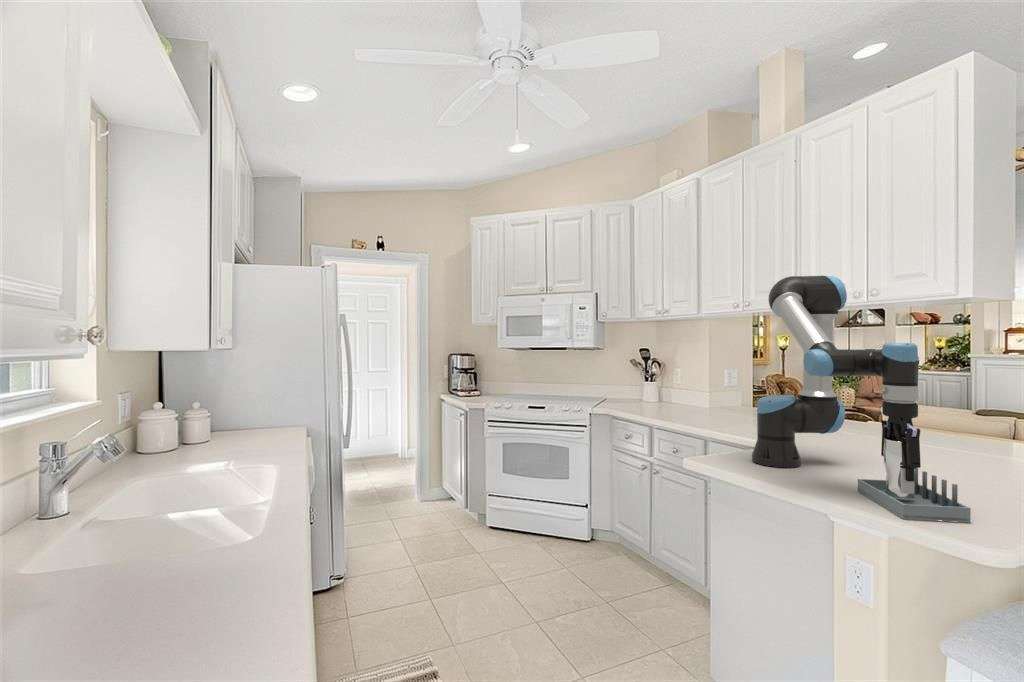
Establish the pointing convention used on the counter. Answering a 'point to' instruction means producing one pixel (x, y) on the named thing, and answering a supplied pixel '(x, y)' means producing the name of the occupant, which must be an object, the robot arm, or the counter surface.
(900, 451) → the beer glass
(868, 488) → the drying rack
